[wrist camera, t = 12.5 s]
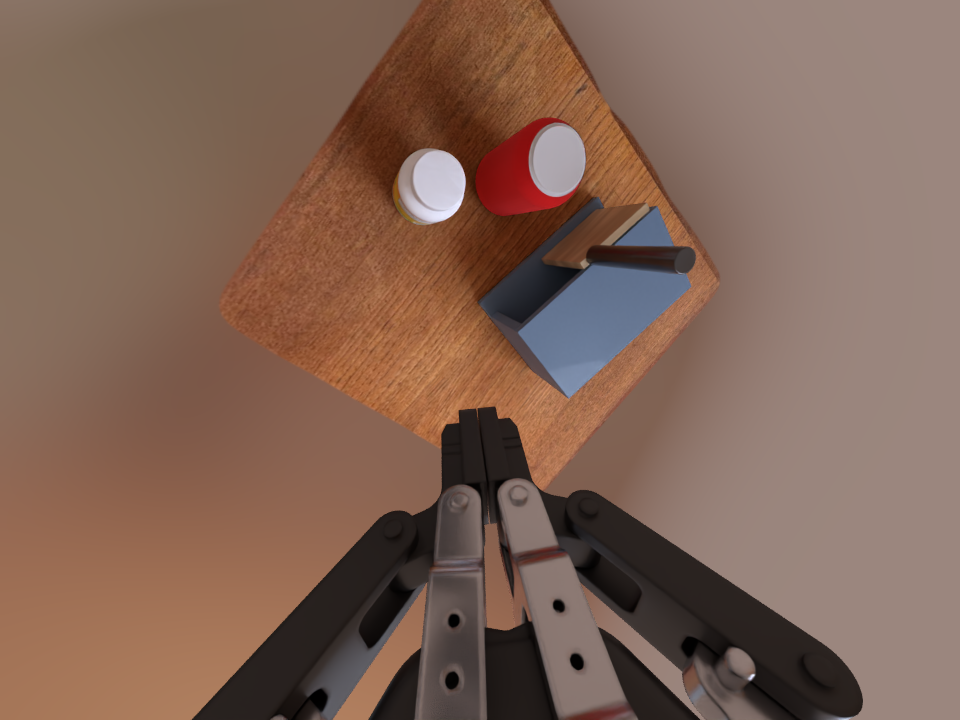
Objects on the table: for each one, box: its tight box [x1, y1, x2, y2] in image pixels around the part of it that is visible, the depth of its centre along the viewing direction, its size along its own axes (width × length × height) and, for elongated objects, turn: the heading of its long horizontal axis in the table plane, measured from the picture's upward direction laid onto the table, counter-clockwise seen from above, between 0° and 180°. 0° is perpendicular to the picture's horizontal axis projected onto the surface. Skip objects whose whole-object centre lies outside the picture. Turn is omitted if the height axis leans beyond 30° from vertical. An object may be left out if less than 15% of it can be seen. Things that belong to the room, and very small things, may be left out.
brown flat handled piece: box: [542, 203, 696, 275], centre depth 31 cm, size 2×8×18 cm, turn 129°
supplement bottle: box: [393, 148, 466, 225], centre depth 29 cm, size 5×5×10 cm
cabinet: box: [478, 197, 691, 398], centre depth 38 cm, size 12×18×9 cm, turn 129°
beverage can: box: [476, 118, 586, 216], centre depth 30 cm, size 6×6×12 cm
